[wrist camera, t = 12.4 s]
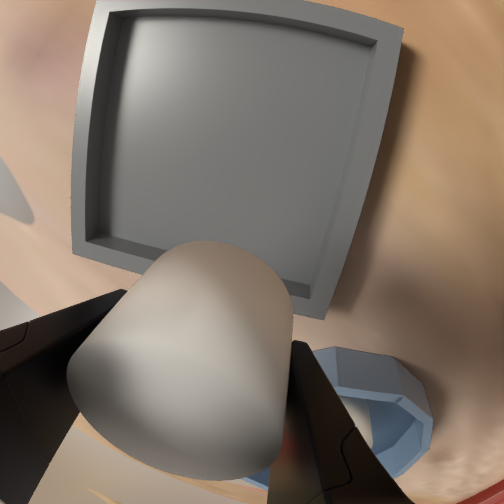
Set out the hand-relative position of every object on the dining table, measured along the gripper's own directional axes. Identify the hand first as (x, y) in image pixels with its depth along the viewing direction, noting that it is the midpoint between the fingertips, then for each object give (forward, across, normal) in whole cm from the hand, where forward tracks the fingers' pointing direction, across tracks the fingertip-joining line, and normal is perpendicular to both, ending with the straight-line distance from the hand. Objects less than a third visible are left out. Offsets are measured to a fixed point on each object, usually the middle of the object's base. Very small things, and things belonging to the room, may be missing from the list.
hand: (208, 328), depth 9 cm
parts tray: (+11, +3, -4) cm, 12 cm away
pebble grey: (+1, 0, 0) cm, 1 cm away
